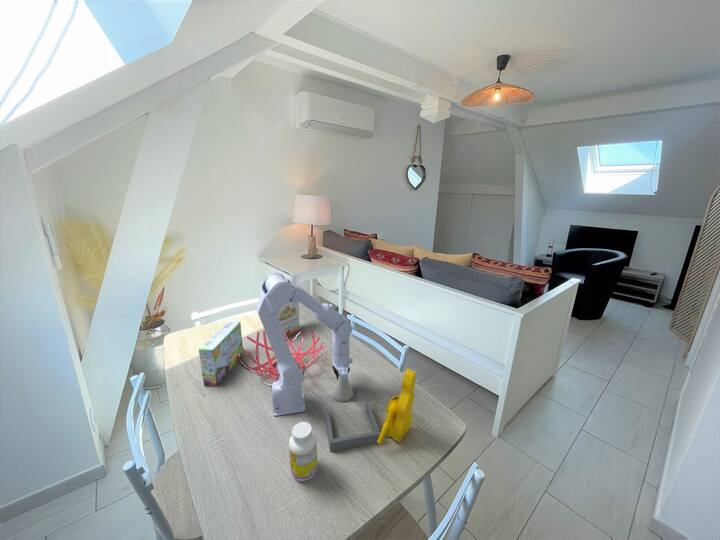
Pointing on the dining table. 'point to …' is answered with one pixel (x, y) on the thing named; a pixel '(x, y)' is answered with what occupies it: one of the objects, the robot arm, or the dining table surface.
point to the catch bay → (355, 439)
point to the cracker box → (289, 318)
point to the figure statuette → (400, 410)
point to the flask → (342, 390)
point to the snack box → (221, 353)
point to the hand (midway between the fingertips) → (341, 383)
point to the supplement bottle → (303, 452)
